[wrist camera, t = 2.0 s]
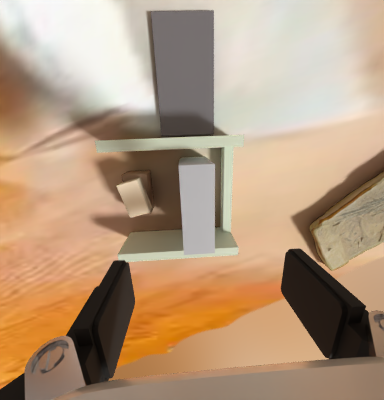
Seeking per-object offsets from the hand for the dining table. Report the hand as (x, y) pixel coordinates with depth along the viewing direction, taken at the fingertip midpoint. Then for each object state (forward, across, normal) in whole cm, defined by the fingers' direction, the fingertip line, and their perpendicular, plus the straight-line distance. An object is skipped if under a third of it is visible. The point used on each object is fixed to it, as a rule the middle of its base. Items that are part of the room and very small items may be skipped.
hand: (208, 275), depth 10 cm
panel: (+17, 0, -15) cm, 23 cm away
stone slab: (+18, -33, +2) cm, 37 cm away
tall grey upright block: (+18, 0, -1) cm, 18 cm away
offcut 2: (+15, +8, -1) cm, 17 cm away
